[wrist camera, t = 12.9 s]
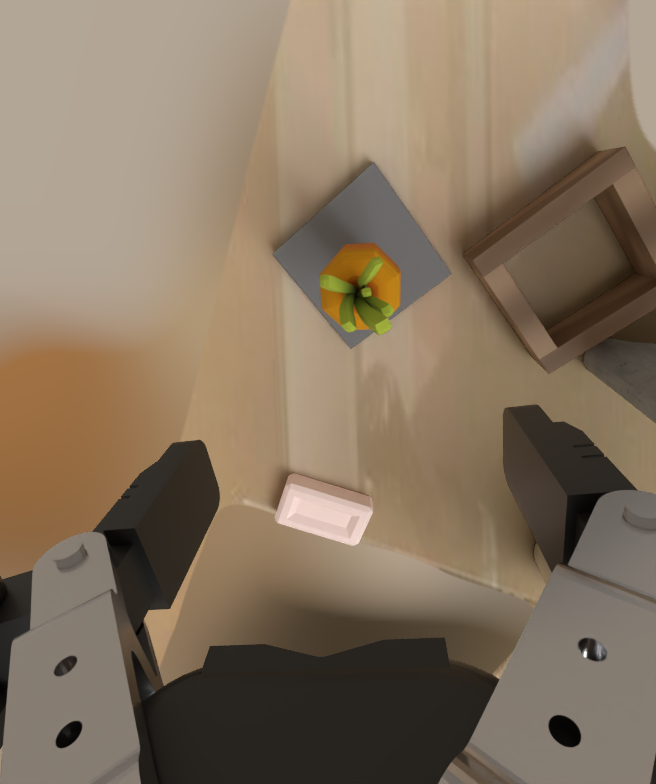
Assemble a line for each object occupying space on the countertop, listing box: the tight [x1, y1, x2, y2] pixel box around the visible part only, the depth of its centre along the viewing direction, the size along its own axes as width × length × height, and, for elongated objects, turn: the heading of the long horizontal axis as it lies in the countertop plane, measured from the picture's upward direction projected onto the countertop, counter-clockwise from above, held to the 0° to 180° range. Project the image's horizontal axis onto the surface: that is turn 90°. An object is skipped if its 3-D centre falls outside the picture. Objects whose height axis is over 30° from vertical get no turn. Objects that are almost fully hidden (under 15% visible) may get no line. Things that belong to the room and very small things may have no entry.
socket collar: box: [463, 147, 656, 373], centre depth 32 cm, size 11×11×4 cm
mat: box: [273, 163, 452, 349], centre depth 34 cm, size 10×10×1 cm
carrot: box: [319, 243, 401, 335], centre depth 27 cm, size 5×5×15 cm
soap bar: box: [275, 473, 373, 546], centre depth 44 cm, size 5×9×2 cm, turn 73°
